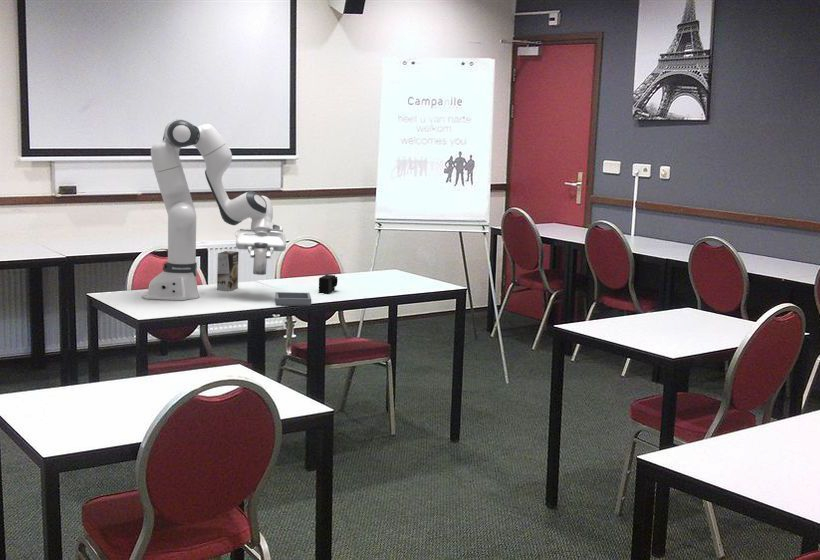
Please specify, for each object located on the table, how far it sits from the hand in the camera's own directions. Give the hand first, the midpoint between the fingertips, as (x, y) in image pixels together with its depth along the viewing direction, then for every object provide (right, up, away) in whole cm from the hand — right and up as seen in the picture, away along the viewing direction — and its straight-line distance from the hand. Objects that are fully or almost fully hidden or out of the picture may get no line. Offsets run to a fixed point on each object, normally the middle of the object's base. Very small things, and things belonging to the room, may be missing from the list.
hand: (260, 257), depth 388 cm
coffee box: (-18, -13, +27) cm, 35 cm away
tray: (+13, -19, +2) cm, 23 cm away
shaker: (-1, -7, +2) cm, 7 cm away
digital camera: (+25, -15, +30) cm, 42 cm away
